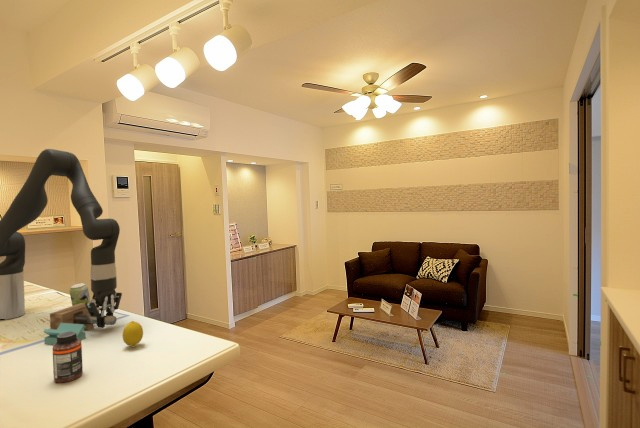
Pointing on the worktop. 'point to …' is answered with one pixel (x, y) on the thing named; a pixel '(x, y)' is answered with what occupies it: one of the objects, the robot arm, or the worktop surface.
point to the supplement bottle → (67, 357)
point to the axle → (94, 319)
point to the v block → (64, 328)
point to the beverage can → (79, 294)
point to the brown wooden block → (69, 316)
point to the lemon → (132, 333)
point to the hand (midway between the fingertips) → (105, 325)
